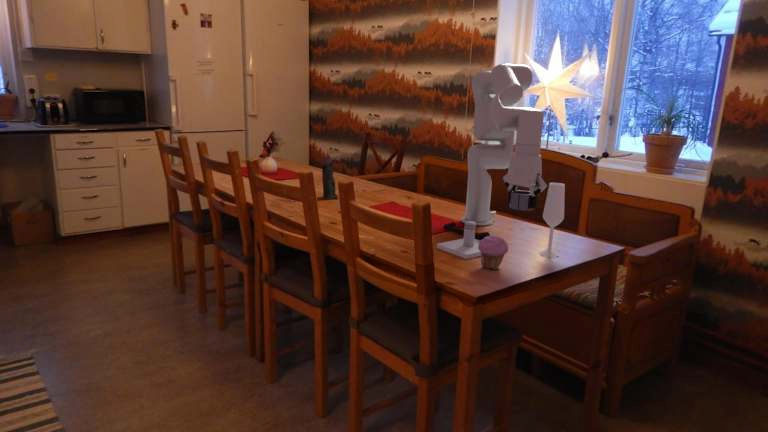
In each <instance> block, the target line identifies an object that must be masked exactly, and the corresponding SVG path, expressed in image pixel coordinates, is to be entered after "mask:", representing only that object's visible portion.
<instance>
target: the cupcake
mask: <svg viewBox="0 0 768 432" xmlns="http://www.w3.org/2000/svg"><path fill="white" fill-rule="evenodd" d="M478 249H479V251H480V252H481V255H482V256H480V258H481V259H480V263H481V264H480V265H481V267H482V268H484V269H489V270H493V271H497V270H498V268H499V267H500V266H501V264H502V262H503V260H504V256H505V255H506V254H507V253H508V251H509V246H508V243H507V241H506V240H505V239H504V238H502V237H500V236H497V235H490V236H487V237H485V238H484V239H482V240H481V241H480V242H479V245H478Z"/></svg>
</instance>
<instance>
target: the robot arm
mask: <svg viewBox="0 0 768 432" xmlns="http://www.w3.org/2000/svg"><path fill="white" fill-rule="evenodd" d="M533 76H534V75H533V71H532V69H531V67H530V66H528V65H526V64H518V63H516V64H515V63H513V64H512V63H500V64H497V65H495V66H494V67H493V68H492V69H491V70H484V71H478V72H477V73H475V74H474V76H473V78H472V83H471V87H472V90H471V91H472V95H473V99H474V103H475V104H474V113H473V114H474V115H473V116H474V117H473V127H472V128H473V130H472V131H473V132H472V133H473V134H472V135H473V137H474V139H475V140H477V141H481V142H499V144H489V143H488V144H487V143H486V144H480V143H479V144H474V145H471V146H470V147H469V148H468V151H467V154H466V155H467V171H468V172H467V173H468V174H467V190H466V201H465V203H466V204H465V215H464V216H462V217H461V218H460V221H461V222H462V223H464V224H465V222H466V221H472V222H475V223H476V226H481V227H482V226H490V225H492V224H493V218H491V217H493V216H494V217H495V216H496V215H497V211H496V210H493V211H491V210H490V209H491V208H490V207H491V199H492V198H491V196H492V195H491V194H492V183H493V181H492V177H491V175H490V173H489V172H488V171H487V170H491V169H492V170H493V169H494V170H506V169H507V170H508V171H507V173H506V174H505V175H503V177H502V180H503V181H504V183H505V184H504V185H505V186H506V188H507V189H506V190H507V191H508V198H507V199H508V200H507V203H508V205H510V197H511V191H514V190H517V188H518V187H522V188H525V189H529V190H528V191H530V193H531V196H529V203H528V208H529V209H532V208H534V209H537V204H538V196H540V194H542V193H543V192H544V191H545V189H546V188H547V187H548V184H547V183H546V182H545V180H544V179H543V178H542V175H543V174H542V171H543V169H542V168H543V167H542V166H543V165H542V163H543V162H542V156H541V147H542V146H541V145H542V136H543V129H544V128H543V125H544V118H545V115H544V112H543V110H541V109H536V108H534V107H522V106H514V105H515V104H517V103H518V102H520V101H521V100H522V98H523V95H524V92H525V91H527V90H528V89H529V88H530V87H531V85H532V83H533ZM493 95H494V96H493ZM515 132H516V136H515ZM515 137H516V138H515ZM514 141H515V143H514Z"/></svg>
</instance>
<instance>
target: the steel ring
mask: <svg viewBox="0 0 768 432" xmlns="http://www.w3.org/2000/svg"><path fill="white" fill-rule="evenodd" d="M529 196H531V193H530V190H525V189H524V190H522V189H521V190H520V189H516V190H514V191H511V197H510V204H509V208H510V209H512V210H516V211H525V212H527V211H529V212H530V211H534V209H535V208H532V209H529V208H528V203H529Z"/></svg>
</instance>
